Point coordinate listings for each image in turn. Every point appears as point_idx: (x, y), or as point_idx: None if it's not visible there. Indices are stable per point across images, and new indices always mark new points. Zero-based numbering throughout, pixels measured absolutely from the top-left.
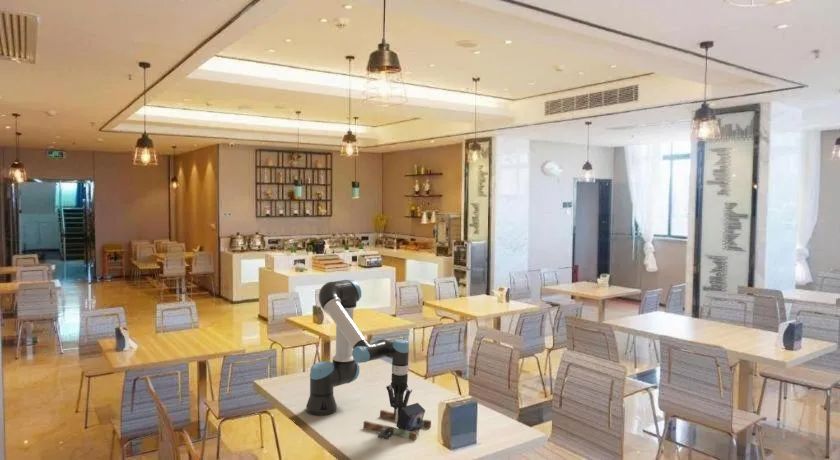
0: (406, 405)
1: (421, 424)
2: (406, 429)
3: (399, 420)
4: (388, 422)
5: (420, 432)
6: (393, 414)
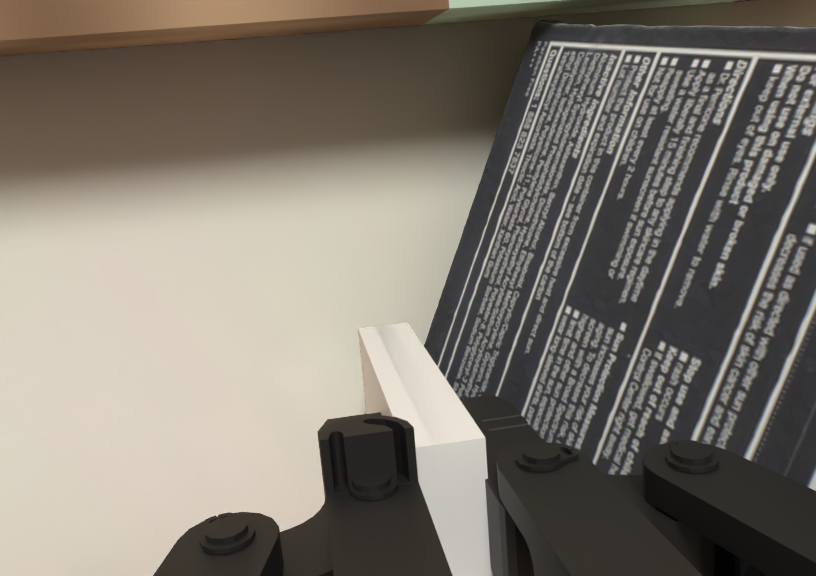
0: (790, 497)
1: (702, 2)
2: None
3: None
4: (60, 224)
5: None
6: (10, 40)
